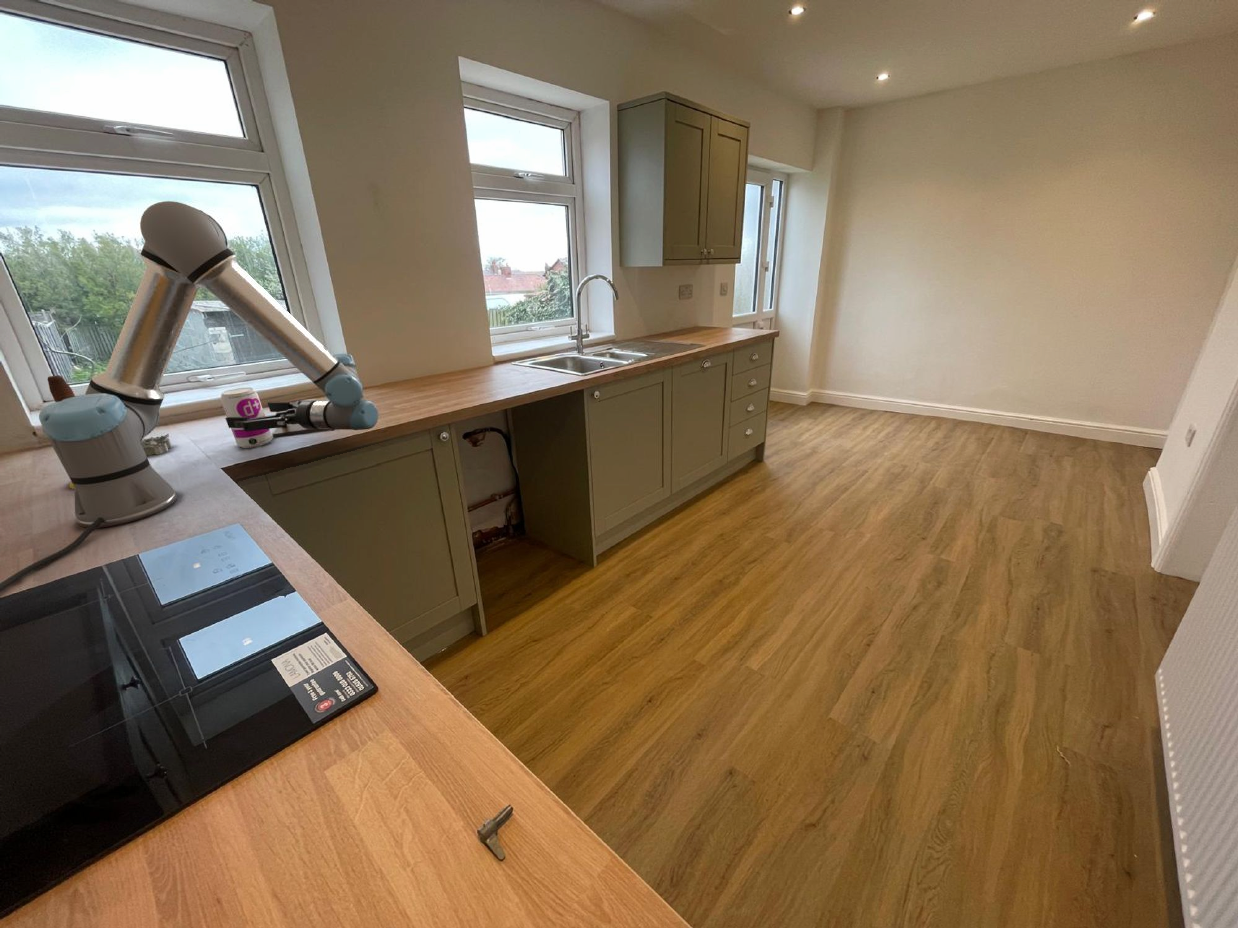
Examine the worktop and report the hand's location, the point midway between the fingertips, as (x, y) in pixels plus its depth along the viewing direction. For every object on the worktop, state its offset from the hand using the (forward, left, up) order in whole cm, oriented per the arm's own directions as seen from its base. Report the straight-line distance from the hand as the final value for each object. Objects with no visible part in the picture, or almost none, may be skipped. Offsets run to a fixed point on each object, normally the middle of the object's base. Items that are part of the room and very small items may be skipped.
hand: (249, 414), depth 136 cm
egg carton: (+7, +28, -9) cm, 30 cm away
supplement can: (+1, +1, -9) cm, 9 cm away
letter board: (+11, -15, -8) cm, 20 cm away
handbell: (-10, +30, -9) cm, 33 cm away
